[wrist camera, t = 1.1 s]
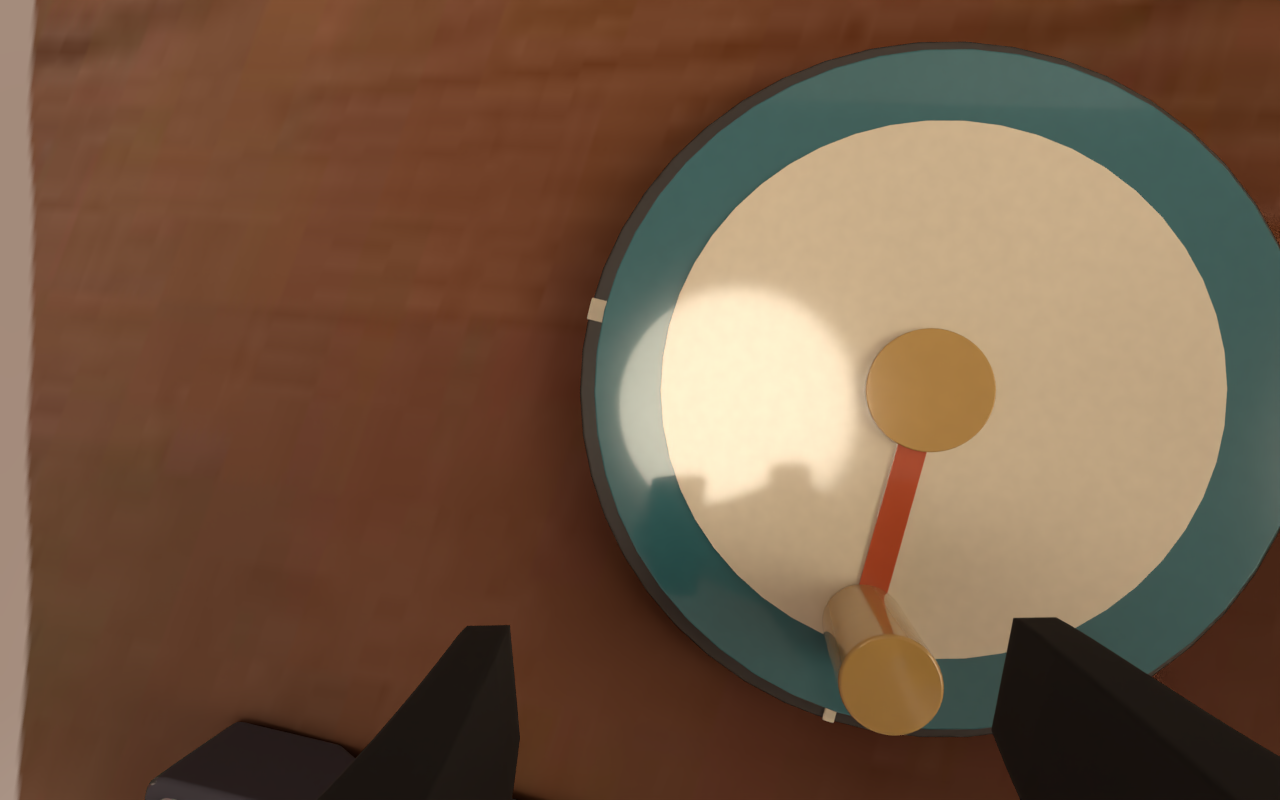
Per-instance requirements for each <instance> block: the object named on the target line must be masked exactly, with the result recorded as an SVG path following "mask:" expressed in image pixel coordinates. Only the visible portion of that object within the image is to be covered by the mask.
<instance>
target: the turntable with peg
mask: <svg viewBox="0 0 1280 800" xmlns="http://www.w3.org/2000/svg"><path fill="white" fill-rule="evenodd" d="M594 400H595V414H596V428H597V437H598V442H599V447H600V452H601V457H602V462H603V467H604V472H605V476H606V479H607V482H608V485H609V488H610V491H611V494H612V497H613V500H614V503H615V506H616V509H617V512H618V514H619V516H620V518H621V520H622V523H623V525H624V527H625V529H626V531H627V533H628V535H629V537H630V539H631V541H632V543H633V545H634V547H635V549H636V551H637V553H638V555H639V556H640V558H641V559H642V561H643V562H644V564H645V565H646V567H647V568H648V570H649V571H650V573H651V574H652V576H653V578H654V579H655V581H656V582H657V584H658V585H659V587H660V588H661V589H662V590H663V592H664V593H665V594H666V595H667V596H668V597H669V599H670V600H671V601H672V602H673V603H674V605H675V606H676V607H677V608H678V609H679V610H680V612H681V613H682V614H683V615H684V616H685V617H686V619H687V620H688V621H689V622H690V623H691V624H693V625H694V626H695V627H696V628H697V629H698V630H699V631H700V632H701V633H702V634H703V635H705V636H706V637H707V638H708V639H709V640H710V641H711V642H712V643H713V644H714V645H715V646H717V647H718V648H719V649H720V650H721V651H723V652H724V653H726V654H727V655H728V656H730V657H731V658H733V659H734V660H735V661H737V662H738V663H740V664H741V665H742V666H744V667H745V668H747V669H748V670H749V671H751V672H752V673H754V674H755V675H757V676H759V677H761V678H762V679H764V680H766V681H768V682H770V683H772V684H773V685H775V686H777V687H779V688H781V689H783V690H785V691H786V692H788V693H790V694H792V695H794V696H796V697H799V698H801V699H804V700H806V701H809V702H812V703H814V704H817V705H819V706H822V707H824V708H827V709H830V710H832V711H835V712H837V713H841V714H845V715H849V716H852V717H853V718H854V719H855V720H856V721H857V722H858V723H860V724H861V725H862V726H864V727H866V728H867V729H869V730H871V731H874V732H877V733H880V734H884V735H905V734H909V733H912V732H915V731H917V730H919V729H982V728H990V727H992V724H993V719H994V714H995V709H996V703H997V698H998V693H999V688H1000V683H1001V678H1002V673H1003V668H1004V663H1005V658H1006V653H1007V648H1008V642H1009V637H1010V632H1011V627H1012V622H1013V618H1033V617H1057V618H1059V619H1060V620H1062V621H1064V622H1066V623H1067V624H1069V625H1071V626H1073V627H1074V628H1076V629H1078V630H1079V631H1081V632H1083V633H1084V634H1086V635H1087V636H1089V637H1091V638H1092V639H1094V640H1095V641H1097V642H1098V643H1100V644H1102V645H1103V646H1105V647H1106V648H1108V649H1109V650H1111V651H1113V652H1114V653H1116V654H1117V655H1119V656H1120V657H1122V658H1123V659H1125V660H1126V661H1128V662H1130V663H1131V664H1133V665H1134V666H1136V667H1137V668H1139V669H1140V670H1142V671H1143V672H1145V673H1146V674H1149V673H1151V672H1152V671H1154V670H1155V669H1157V668H1158V667H1159V666H1161V665H1162V664H1163V663H1165V662H1166V661H1167V660H1169V659H1170V658H1171V657H1173V656H1174V655H1175V654H1177V653H1178V652H1180V651H1181V650H1182V649H1184V648H1185V647H1186V646H1188V645H1189V644H1190V643H1192V642H1193V641H1194V640H1195V639H1196V638H1197V637H1198V636H1199V635H1200V634H1201V633H1202V632H1203V631H1204V630H1205V629H1206V628H1207V627H1208V626H1209V625H1210V624H1211V623H1212V622H1213V621H1214V620H1215V619H1216V618H1217V617H1218V616H1219V615H1220V614H1221V613H1222V612H1223V611H1224V610H1225V609H1226V608H1227V607H1228V606H1229V604H1230V603H1231V602H1232V600H1233V599H1234V598H1235V597H1236V595H1237V594H1238V593H1239V591H1240V590H1241V589H1242V587H1243V586H1244V585H1245V583H1246V582H1247V581H1248V580H1249V578H1250V577H1251V576H1252V574H1253V573H1254V572H1255V570H1256V569H1257V567H1258V565H1259V564H1260V562H1261V560H1262V558H1263V556H1264V555H1265V553H1266V551H1267V549H1268V548H1269V546H1270V544H1271V542H1272V540H1273V539H1274V537H1275V535H1276V533H1277V532H1278V530H1279V528H1280V248H1279V247H1278V245H1277V243H1276V241H1275V240H1274V238H1273V236H1272V234H1271V232H1270V231H1269V229H1268V227H1267V225H1266V224H1265V222H1264V220H1263V218H1262V217H1261V215H1260V213H1259V211H1258V209H1257V208H1256V206H1255V205H1254V204H1253V202H1252V201H1251V200H1250V198H1249V197H1248V196H1247V194H1246V193H1245V192H1244V191H1243V189H1242V188H1241V187H1240V185H1239V184H1238V183H1237V181H1236V180H1235V179H1234V178H1233V176H1232V175H1231V174H1230V172H1229V171H1228V170H1227V169H1226V168H1225V167H1224V166H1223V165H1222V164H1221V163H1220V162H1219V161H1218V160H1217V159H1216V158H1215V157H1214V156H1213V155H1212V154H1211V153H1210V152H1209V151H1208V150H1207V149H1206V148H1205V147H1204V146H1203V145H1202V144H1201V143H1200V142H1199V141H1198V140H1197V139H1196V138H1195V137H1194V136H1193V135H1192V134H1190V133H1189V132H1188V131H1186V130H1185V129H1183V128H1182V127H1181V126H1179V125H1178V124H1177V123H1175V122H1174V121H1173V120H1171V119H1170V118H1169V117H1167V116H1166V115H1165V114H1163V113H1162V112H1160V111H1159V110H1158V109H1156V108H1155V107H1154V106H1152V105H1150V104H1148V103H1147V102H1145V101H1143V100H1141V99H1139V98H1137V97H1136V96H1134V95H1132V94H1130V93H1128V92H1126V91H1125V90H1123V89H1121V88H1119V87H1117V86H1116V85H1114V84H1112V83H1110V82H1107V81H1105V80H1102V79H1099V78H1097V77H1094V76H1092V75H1089V74H1086V73H1084V72H1081V71H1079V70H1076V69H1074V68H1071V67H1068V66H1066V65H1061V64H1057V63H1053V62H1049V61H1045V60H1041V59H1037V58H1033V57H1029V56H1025V55H1021V54H1013V53H1004V52H995V51H986V50H978V49H929V50H919V51H912V52H904V53H897V54H890V55H883V56H877V57H873V58H870V59H866V60H862V61H858V62H855V63H851V64H847V65H843V66H840V67H836V68H833V69H831V70H828V71H826V72H823V73H821V74H818V75H816V76H813V77H811V78H808V79H806V80H803V81H801V82H798V83H796V84H793V85H791V86H790V87H788V88H786V89H784V90H782V91H781V92H779V93H777V94H775V95H773V96H772V97H770V98H768V99H766V100H764V101H763V102H761V103H759V104H757V105H755V106H754V107H752V108H751V109H749V110H748V111H747V112H745V113H744V114H742V115H741V116H740V117H738V118H737V119H736V120H734V121H733V122H732V123H730V124H729V125H727V126H726V127H725V128H723V129H722V130H721V131H719V132H718V133H717V134H716V135H715V136H713V137H712V138H711V139H710V140H709V141H708V142H707V143H706V144H705V145H704V146H703V147H702V148H701V149H700V150H699V151H697V152H696V153H695V154H694V155H693V156H692V157H691V158H690V159H689V160H688V161H687V162H686V163H685V164H684V165H683V166H682V168H681V169H680V170H679V171H678V172H677V174H676V175H675V176H674V177H673V178H672V180H671V181H670V182H669V183H668V184H667V186H666V187H665V188H664V189H663V191H662V192H661V193H660V194H659V195H658V197H657V198H656V200H655V201H654V203H653V205H652V206H651V208H650V209H649V211H648V212H647V214H646V216H645V217H644V219H643V220H642V222H641V223H640V225H639V227H638V228H637V230H636V231H635V233H634V235H633V237H632V240H631V242H630V244H629V246H628V248H627V250H626V252H625V254H624V257H623V259H622V261H621V263H620V265H619V267H618V269H617V272H616V275H615V278H614V281H613V284H612V287H611V290H610V293H609V297H608V300H607V303H606V306H605V309H604V313H603V319H602V324H601V329H600V335H599V340H598V345H597V350H596V367H595V384H594Z"/></svg>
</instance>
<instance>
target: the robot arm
mask: <svg viewBox="0 0 1280 800" xmlns="http://www.w3.org/2000/svg"><path fill="white" fill-rule="evenodd" d="M991 731H992V733H993V736H994V738H995V741H996V743H997V746H998V748H999V751H1000V753H1001V756H1002V758H1003V760H1004V763H1005V765H1006V768H1007V770H1008V773H1009V775H1010V777H1011V779H1012V782H1013V784H1014V786H1015V789H1016V791H1017V793H1018V795H1019V798H1020V800H1280V757H1279V756H1278V755H1276V754H1274V753H1273V752H1271V751H1269V750H1267V749H1266V748H1264V747H1262V746H1261V745H1259V744H1257V743H1256V742H1254V741H1252V740H1251V739H1249V738H1248V737H1246V736H1244V735H1243V734H1241V733H1239V732H1238V731H1236V730H1234V729H1233V728H1231V727H1230V726H1228V725H1226V724H1225V723H1223V722H1222V721H1220V720H1218V719H1217V718H1215V717H1214V716H1212V715H1210V714H1209V713H1207V712H1206V711H1204V710H1202V709H1201V708H1199V707H1198V706H1196V705H1195V704H1193V703H1191V702H1190V701H1188V700H1187V699H1185V698H1184V697H1182V696H1180V695H1179V694H1177V693H1176V692H1174V691H1173V690H1171V689H1170V688H1168V687H1167V686H1165V685H1163V684H1162V683H1160V682H1159V681H1157V680H1156V679H1154V678H1153V677H1151V676H1150V675H1148V674H1146V673H1145V672H1143V671H1142V670H1140V669H1139V668H1137V667H1136V666H1134V665H1133V664H1131V663H1130V662H1128V661H1126V660H1125V659H1123V658H1122V657H1120V656H1119V655H1117V654H1116V653H1114V652H1113V651H1111V650H1109V649H1108V648H1106V647H1105V646H1103V645H1102V644H1100V643H1098V642H1097V641H1095V640H1094V639H1092V638H1091V637H1089V636H1087V635H1086V634H1084V633H1083V632H1081V631H1079V630H1078V629H1076V628H1074V627H1073V626H1071V625H1069V624H1067V623H1066V622H1064V621H1062V620H1060V619H1059V618H1057V617H1033V618H1013V622H1012V627H1011V632H1010V637H1009V642H1008V648H1007V653H1006V658H1005V663H1004V668H1003V673H1002V678H1001V683H1000V688H999V693H998V698H997V703H996V709H995V714H994V719H993V724H992V729H991ZM519 740H520V733H519V722H518V711H517V700H516V689H515V678H514V667H513V656H512V645H511V633H510V625H496V626H467V627H466V628H465V629H464V630H463V631H461V632H460V634H459V635H458V636H457V637H456V639H455V640H454V641H453V643H452V644H451V645H450V647H449V648H448V649H447V650H446V652H445V653H444V654H443V656H442V657H441V658H440V659H439V661H438V662H437V663H436V665H435V666H434V667H433V668H432V670H431V671H430V672H429V673H428V675H427V676H426V677H425V678H424V680H423V681H422V682H421V683H420V685H419V686H418V687H417V688H416V690H415V691H414V692H413V693H412V694H411V696H410V697H409V698H408V699H407V700H406V702H405V703H404V704H403V705H402V706H401V707H400V709H399V710H398V711H397V712H396V713H395V714H394V716H393V717H392V718H391V719H390V720H389V721H388V723H387V724H386V725H385V726H384V727H383V728H382V730H381V731H380V732H379V733H378V734H377V735H376V736H375V738H374V739H373V740H372V741H371V742H370V743H369V744H368V745H367V746H366V748H365V749H364V750H363V751H362V752H361V753H360V754H359V755H358V756H357V757H356V758H355V759H354V760H353V761H352V762H351V763H350V765H349V766H348V767H347V768H346V769H345V770H344V771H343V772H342V773H341V774H340V775H339V776H338V777H337V778H336V779H335V780H334V781H333V783H332V784H331V785H330V786H329V787H328V788H327V789H326V790H325V791H324V792H323V793H322V794H321V795H320V796H319V797H318V798H317V799H316V800H512V795H513V788H514V780H515V773H516V764H517V756H518V748H519Z"/></svg>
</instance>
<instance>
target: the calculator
mask: <svg viewBox="0 0 1280 800" xmlns="http://www.w3.org/2000/svg"><path fill="white" fill-rule="evenodd" d="M354 759H355V758H354V757H353V756H352V755H351V754H350V753H349V752H347V751H346V750H345V749H344V748H343V747H342V746H340V745H337V744H333V743H329V742H325V741H321V740H317V739H312V738H308V737H304V736H300V735H296V734H291V733H287V732H283V731H279V730H275V729H270V728H266V727H262V726H258V725H254V724H249V723H244V722H237V723H234V724H232V725H231V726H229V727H228V728H226V729H225V730H223V731H222V732H220V733H219V734H217V735H216V736H214V737H213V738H212V739H210V740H209V741H207V742H206V743H204V744H203V745H201V746H200V747H198V748H197V749H196V750H194V751H193V752H191V753H190V754H188V755H187V756H185V757H184V758H183V759H181V760H180V761H178V762H177V763H175V764H174V765H172V766H171V767H169V768H168V769H167V770H165V771H164V772H162V773H161V774H160V775H158V776H157V777H155V778H154V779H153V780H152V781H151V782H150V783H149V785H148V787H147V790H146V795H145V800H316V799H317V798H318V797H319V796H320V795H321V794H322V793H323V792H324V791H325V790H326V789H327V788H328V787H329V786H330V785H331V784H332V783H333V781H334V780H335V779H336V778H337V777H338V776H339V775H340V774H341V773H342V772H343V771H344V770H345V769H346V768H347V767H348V766H349V765H350V763H351V762H352V761H353V760H354ZM512 800H516V799H512Z"/></svg>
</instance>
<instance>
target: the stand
mask: <svg viewBox="0 0 1280 800" xmlns="http://www.w3.org/2000/svg"><path fill="white" fill-rule="evenodd" d="M929 49H978V50H986V51H995V52H1004V53H1013V54H1021V55H1025V56H1029V57H1033V58H1037V59H1041V60H1045V61H1049V62H1053V63H1057V64H1061V65H1066V66H1068V67H1071V68H1074V69H1076V70H1079V71H1081V72H1084V73H1086V74H1089V75H1092V76H1094V77H1097V78H1099V79H1102V80H1105V81H1107V82H1110V83H1112V84H1114V85H1116V86H1117V87H1119V88H1121V89H1123V90H1125V91H1126V92H1128V93H1130V94H1132V95H1134V96H1136V97H1137V98H1139V99H1141V100H1143V101H1145V102H1147V103H1148V104H1150V105H1152V106H1154V107H1155V108H1156V109H1158V110H1159V111H1160V112H1162V113H1163V114H1165V115H1166V116H1167V117H1169V118H1170V119H1171V120H1173V121H1174V122H1175V123H1177V124H1178V125H1179V126H1181V127H1182V128H1183V129H1185V130H1186V131H1188V132H1189V133H1190V134H1192V135H1193V136H1194V137H1195V138H1196V139H1197V140H1198V141H1199V142H1200V143H1201V144H1202V145H1203V146H1204V147H1205V148H1206V149H1207V150H1208V151H1209V152H1210V153H1211V154H1212V155H1213V156H1214V157H1215V158H1216V159H1217V160H1218V161H1219V162H1220V163H1221V164H1222V165H1223V166H1224V167H1225V168H1226V169H1227V170H1228V171H1229V172H1230V174H1231V175H1232V176H1233V178H1234V179H1235V180H1236V181H1237V183H1238V184H1239V185H1240V187H1241V188H1242V189H1243V191H1244V192H1245V193H1246V194H1247V196H1248V197H1249V198H1250V200H1251V201H1252V202H1253V204H1254V205H1255V206H1256V208H1257V209H1258V207H1257V205H1256V203H1255V202H1254V201H1253V199H1252V198H1251V197H1250V195H1249V194H1248V193H1247V192H1246V190H1245V189H1244V188H1243V186H1242V185H1241V184H1240V182H1239V181H1238V180H1237V179H1236V177H1235V176H1234V175H1233V173H1232V172H1231V171H1230V169H1229V168H1228V167H1227V166H1226V164H1225V163H1224V162H1223V161H1222V160H1221V159H1220V158H1219V157H1218V156H1217V155H1216V154H1215V153H1214V152H1213V151H1211V150H1210V149H1209V148H1208V147H1207V146H1206V145H1205V144H1204V143H1203V142H1202V141H1201V140H1200V139H1199V138H1198V137H1197V136H1196V135H1195V134H1194V133H1193V132H1192V131H1191V130H1190V129H1189V128H1187V127H1186V126H1185V125H1183V124H1182V123H1181V122H1179V121H1178V120H1176V119H1175V118H1174V117H1172V116H1171V115H1170V114H1168V113H1167V112H1166V111H1164V110H1163V109H1162V108H1160V107H1159V106H1158V105H1156V104H1155V103H1153V102H1152V101H1151V100H1149V99H1147V98H1145V97H1144V96H1142V95H1140V94H1138V93H1136V92H1135V91H1133V90H1131V89H1129V88H1127V87H1125V86H1124V85H1122V84H1120V83H1118V82H1116V81H1114V80H1113V79H1111V78H1109V77H1107V76H1105V75H1102V74H1099V73H1097V72H1094V71H1092V70H1089V69H1087V68H1084V67H1081V66H1079V65H1076V64H1074V63H1071V62H1068V61H1066V60H1063V59H1060V58H1056V57H1052V56H1048V55H1044V54H1040V53H1036V52H1032V51H1028V50H1023V49H1019V48H1015V47H1008V46H999V45H990V44H981V43H972V42H918V43H910V44H903V45H896V46H889V47H882V48H875V49H869V50H865V51H862V52H858V53H854V54H850V55H847V56H843V57H839V58H836V59H832V60H828V61H825V62H822V63H820V64H817V65H815V66H812V67H810V68H807V69H805V70H802V71H800V72H797V73H795V74H793V75H790V76H788V77H785V78H783V79H781V80H779V81H777V82H775V83H774V84H772V85H770V86H768V87H766V88H765V89H763V90H761V91H759V92H757V93H756V94H754V95H752V96H750V97H748V98H747V99H745V100H743V101H741V102H740V103H739V104H737V105H736V106H735V107H733V108H732V109H731V110H729V111H728V112H726V113H725V114H724V115H722V116H721V117H720V118H718V119H717V120H716V121H714V122H713V123H711V124H710V125H709V126H707V127H706V128H705V129H704V130H703V131H702V132H701V133H700V134H698V135H697V136H696V137H695V138H694V139H693V140H692V141H691V142H690V143H689V144H688V145H687V146H686V147H685V148H684V149H683V150H682V151H680V152H679V153H678V154H677V155H676V156H675V157H674V158H673V159H672V160H671V162H670V163H669V164H668V165H667V166H666V168H665V169H664V170H663V171H662V172H661V174H660V175H659V176H658V177H657V179H656V180H655V181H654V182H653V183H652V185H651V186H650V187H649V188H648V189H647V191H646V192H645V193H644V195H643V196H642V198H641V200H640V201H639V203H638V204H637V206H636V208H635V209H634V211H633V212H632V214H631V215H630V217H629V219H628V220H627V222H626V223H625V225H624V226H623V228H622V230H621V232H620V234H619V236H618V238H617V240H616V243H615V245H614V247H613V249H612V251H611V253H610V255H609V257H608V260H607V262H606V264H605V266H604V268H603V271H602V274H601V277H600V281H599V284H598V287H597V290H596V293H595V296H594V298H592V300H591V304H590V308H589V312H588V316H587V319H588V324H587V329H586V335H585V340H584V345H583V352H582V369H581V386H580V398H581V413H582V427H583V437H584V442H585V447H586V452H587V457H588V462H589V467H590V472H591V477H592V480H593V483H594V486H595V489H596V492H597V495H598V498H599V501H600V504H601V507H602V510H603V513H604V516H605V518H606V520H607V522H608V524H609V526H610V528H611V530H612V532H613V534H614V537H615V539H616V541H617V543H618V545H619V547H620V549H621V551H622V553H623V555H624V557H625V558H626V560H627V561H628V563H629V564H630V566H631V567H632V569H633V571H634V572H635V574H636V575H637V577H638V578H639V580H640V581H641V583H642V584H643V586H644V587H645V589H646V590H647V592H648V593H649V594H650V595H651V597H652V598H653V599H654V600H655V601H656V603H657V604H658V605H659V606H660V607H661V608H662V610H663V611H664V612H665V613H666V614H667V616H668V617H669V618H670V619H671V620H672V621H673V623H674V624H675V625H676V626H677V627H678V628H679V629H680V630H682V631H683V632H684V633H685V634H686V635H687V636H688V637H689V638H690V639H691V640H692V641H693V642H695V643H696V644H697V645H698V646H699V647H700V648H701V649H702V650H703V651H704V652H705V653H707V654H708V655H709V656H710V657H712V658H713V659H715V660H716V661H717V662H719V663H720V664H722V665H723V666H724V667H726V668H727V669H729V670H730V671H731V672H733V673H734V674H736V675H737V676H738V677H740V678H741V679H743V680H744V681H746V682H748V683H749V684H751V685H753V686H755V687H757V688H759V689H760V690H762V691H764V692H766V693H768V694H770V695H772V696H773V697H775V698H777V699H779V700H781V701H783V702H784V703H787V704H790V705H792V706H795V707H797V708H800V709H802V710H805V711H807V712H810V713H813V714H815V715H818V716H820V717H822V720H825V721H828V722H831V723H834V721H836V722H840V723H844V724H848V725H852V726H856V727H859V728H863V729H867V728H866V727H864V726H862V725H861V724H860V723H858V722H857V721H856V720H855V719H854V718H853V717H852V716H849V715H845V714H841V713H837V712H835V711H832V710H830V709H827V708H824V707H822V706H819V705H817V704H814V703H812V702H809V701H806V700H804V699H801V698H799V697H796V696H794V695H792V694H790V693H788V692H786V691H785V690H783V689H781V688H779V687H777V686H775V685H773V684H772V683H770V682H768V681H766V680H764V679H762V678H761V677H759V676H757V675H755V674H754V673H752V672H751V671H749V670H748V669H747V668H745V667H744V666H742V665H741V664H740V663H738V662H737V661H735V660H734V659H733V658H731V657H730V656H728V655H727V654H726V653H724V652H723V651H721V650H720V649H719V648H718V647H717V646H715V645H714V644H713V643H712V642H711V641H710V640H709V639H708V638H707V637H706V636H705V635H703V634H702V633H701V632H700V631H699V630H698V629H697V628H696V627H695V626H694V625H693V624H691V623H690V622H689V621H688V620H687V619H686V617H685V616H684V615H683V614H682V613H681V612H680V610H679V609H678V608H677V607H676V606H675V605H674V603H673V602H672V601H671V600H670V599H669V597H668V596H667V595H666V594H665V593H664V592H663V590H662V589H661V588H660V587H659V585H658V584H657V582H656V581H655V579H654V578H653V576H652V574H651V573H650V571H649V570H648V568H647V567H646V565H645V564H644V562H643V561H642V559H641V558H640V556H639V555H638V553H637V551H636V549H635V547H634V545H633V543H632V541H631V539H630V537H629V535H628V533H627V531H626V529H625V527H624V525H623V523H622V520H621V518H620V516H619V514H618V512H617V509H616V506H615V503H614V500H613V497H612V494H611V491H610V488H609V485H608V482H607V479H606V476H605V472H604V467H603V462H602V457H601V452H600V447H599V442H598V437H597V428H596V414H595V400H594V384H595V367H596V350H597V345H598V340H599V335H600V329H601V324H602V319H603V313H604V309H605V306H606V303H607V300H608V297H609V293H610V290H611V287H612V284H613V281H614V278H615V275H616V272H617V269H618V267H619V265H620V263H621V261H622V259H623V257H624V254H625V252H626V250H627V248H628V246H629V244H630V242H631V240H632V237H633V235H634V233H635V231H636V230H637V228H638V227H639V225H640V223H641V222H642V220H643V219H644V217H645V216H646V214H647V212H648V211H649V209H650V208H651V206H652V205H653V203H654V201H655V200H656V198H657V197H658V195H659V194H660V193H661V192H662V191H663V189H664V188H665V187H666V186H667V184H668V183H669V182H670V181H671V180H672V178H673V177H674V176H675V175H676V174H677V172H678V171H679V170H680V169H681V168H682V166H683V165H684V164H685V163H686V162H687V161H688V160H689V159H690V158H691V157H692V156H693V155H694V154H695V153H696V152H697V151H699V150H700V149H701V148H702V147H703V146H704V145H705V144H706V143H707V142H708V141H709V140H710V139H711V138H712V137H713V136H715V135H716V134H717V133H718V132H719V131H721V130H722V129H723V128H725V127H726V126H727V125H729V124H730V123H732V122H733V121H734V120H736V119H737V118H738V117H740V116H741V115H742V114H744V113H745V112H747V111H748V110H749V109H751V108H752V107H754V106H755V105H757V104H759V103H761V102H763V101H764V100H766V99H768V98H770V97H772V96H773V95H775V94H777V93H779V92H781V91H782V90H784V89H786V88H788V87H790V86H791V85H793V84H796V83H798V82H801V81H803V80H806V79H808V78H811V77H813V76H816V75H818V74H821V73H823V72H826V71H828V70H831V69H833V68H836V67H840V66H843V65H847V64H851V63H855V62H858V61H862V60H866V59H870V58H873V57H877V56H883V55H890V54H897V53H904V52H912V51H919V50H929ZM1258 211H1259V213H1260V215H1261V217H1262V218H1263V216H1262V214H1261V212H1260V210H1259V209H1258ZM1263 220H1264V222H1265V224H1266V225H1267V223H1266V221H1265V219H1264V218H1263ZM1267 227H1268V229H1269V231H1270V232H1271V230H1270V228H1269V226H1268V225H1267ZM1271 234H1272V232H1271ZM1272 236H1273V238H1274V240H1275V241H1276V239H1275V237H1274V235H1273V234H1272ZM1276 243H1277V245H1278V247H1279V248H1280V246H1279V244H1278V242H1277V241H1276ZM1279 531H1280V528H1279V530H1278V532H1277V533H1276V535H1275V537H1274V539H1273V540H1272V542H1271V544H1270V546H1269V548H1268V549H1267V551H1266V553H1265V555H1264V556H1263V558H1262V560H1261V562H1260V564H1259V565H1258V567H1257V569H1256V570H1255V572H1254V573H1253V574H1252V576H1251V577H1250V578H1249V580H1248V581H1247V582H1246V583H1245V585H1244V586H1243V587H1242V589H1241V590H1240V591H1239V593H1238V594H1237V595H1236V597H1235V598H1234V599H1233V600H1232V602H1231V603H1230V604H1229V606H1228V607H1227V608H1226V609H1225V610H1224V611H1223V612H1222V613H1221V614H1220V615H1219V616H1218V617H1217V618H1216V619H1215V620H1214V621H1213V622H1212V623H1211V624H1210V625H1209V626H1208V627H1207V628H1206V629H1205V630H1204V631H1203V632H1202V633H1201V634H1200V635H1199V636H1198V637H1197V638H1196V639H1195V640H1194V641H1193V642H1192V643H1190V644H1189V645H1188V646H1186V647H1185V648H1184V649H1182V650H1181V651H1180V652H1178V653H1177V654H1175V655H1174V656H1173V657H1171V658H1170V659H1169V660H1167V661H1166V662H1165V663H1163V664H1162V665H1161V666H1159V667H1158V668H1157V669H1155V670H1154V671H1152V672H1151V673H1149V674H1148V675H1150V676H1151V677H1152V676H1153V675H1154V674H1156V673H1157V672H1158V671H1160V670H1161V669H1162V668H1164V667H1165V666H1166V665H1168V664H1169V663H1170V662H1172V661H1173V660H1174V659H1176V658H1177V657H1178V656H1180V655H1181V654H1182V653H1184V652H1185V651H1186V650H1188V649H1189V648H1190V647H1191V646H1192V645H1193V644H1194V643H1195V642H1197V641H1198V640H1199V639H1200V638H1201V637H1202V636H1203V635H1204V634H1205V633H1206V632H1207V631H1208V630H1209V629H1210V628H1211V627H1212V626H1213V625H1214V624H1215V623H1216V622H1217V621H1218V620H1219V619H1220V618H1221V617H1222V616H1223V615H1224V614H1225V613H1226V612H1227V610H1228V609H1229V608H1230V606H1231V605H1232V604H1233V602H1234V601H1235V600H1236V598H1237V597H1238V596H1239V595H1240V593H1241V592H1242V591H1243V589H1244V588H1245V587H1246V585H1247V584H1248V583H1249V582H1250V580H1251V579H1252V578H1253V576H1254V575H1255V574H1256V572H1257V570H1258V568H1259V566H1260V565H1261V563H1262V561H1263V559H1264V558H1265V556H1266V554H1267V552H1268V550H1269V549H1270V547H1271V545H1272V543H1273V542H1274V540H1275V538H1276V536H1277V534H1278V533H1279ZM991 729H992V727H990V728H982V729H919V730H917V731H915V732H912V733H909V734H905V735H909V736H917V737H972V736H980V735H988V734H993V733H992V731H991ZM867 730H869V729H867Z"/></svg>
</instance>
